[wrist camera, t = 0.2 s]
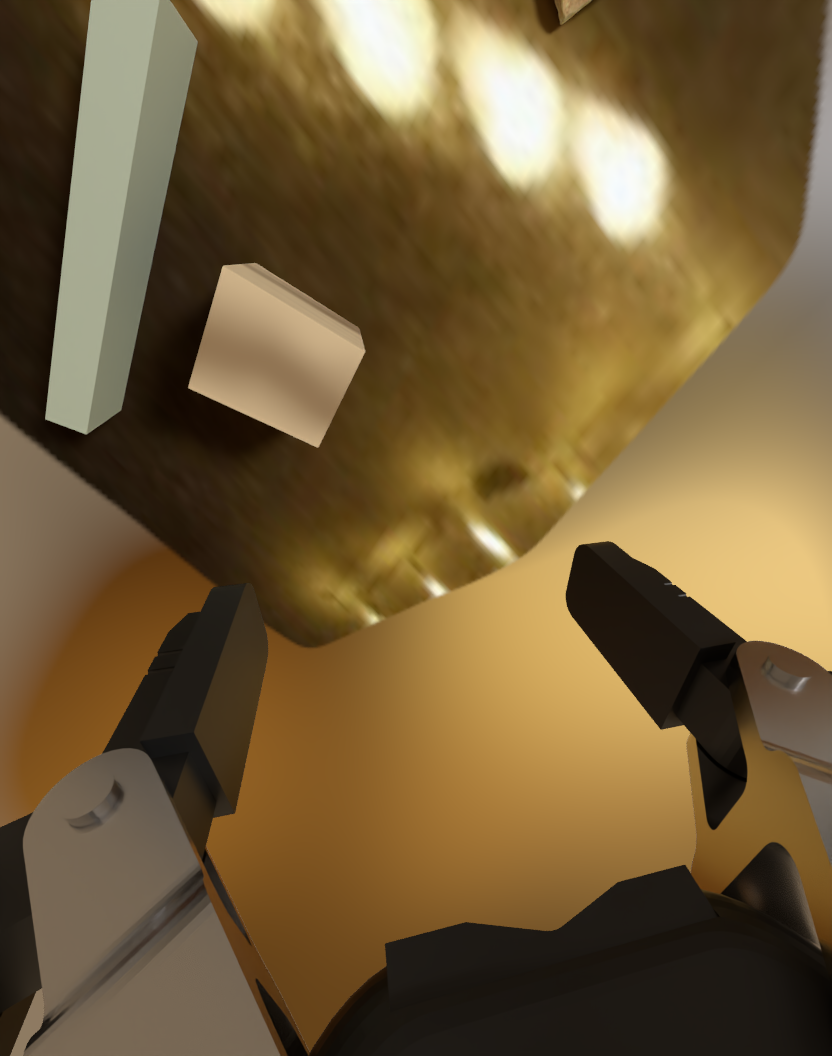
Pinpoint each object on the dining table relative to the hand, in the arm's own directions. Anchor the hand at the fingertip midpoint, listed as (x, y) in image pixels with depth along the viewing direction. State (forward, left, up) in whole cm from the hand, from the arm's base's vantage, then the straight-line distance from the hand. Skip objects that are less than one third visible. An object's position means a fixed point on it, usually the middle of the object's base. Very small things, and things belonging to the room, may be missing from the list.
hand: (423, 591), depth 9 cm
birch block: (+1, -5, -23) cm, 23 cm away
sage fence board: (+1, -15, -23) cm, 27 cm away
